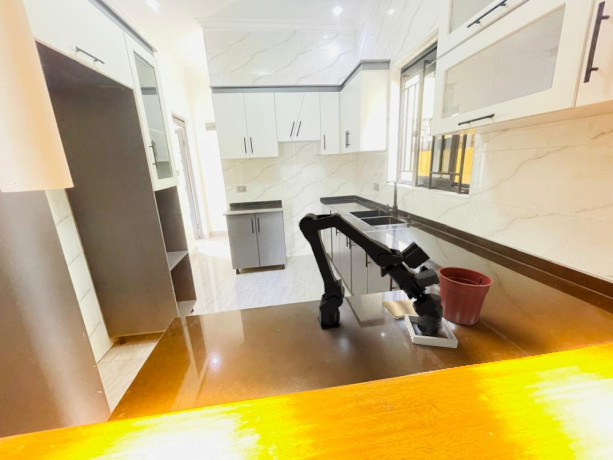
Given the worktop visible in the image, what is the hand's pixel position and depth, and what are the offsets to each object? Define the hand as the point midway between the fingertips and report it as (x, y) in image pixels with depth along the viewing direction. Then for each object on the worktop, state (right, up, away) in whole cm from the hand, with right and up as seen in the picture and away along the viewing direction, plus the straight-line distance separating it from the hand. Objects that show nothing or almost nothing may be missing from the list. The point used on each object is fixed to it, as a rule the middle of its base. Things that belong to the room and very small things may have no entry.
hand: (435, 311), depth 81 cm
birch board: (-5, -4, +15) cm, 17 cm away
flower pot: (+14, -5, +12) cm, 19 cm away
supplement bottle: (-1, -7, +2) cm, 7 cm away
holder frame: (-1, -8, +2) cm, 8 cm away
